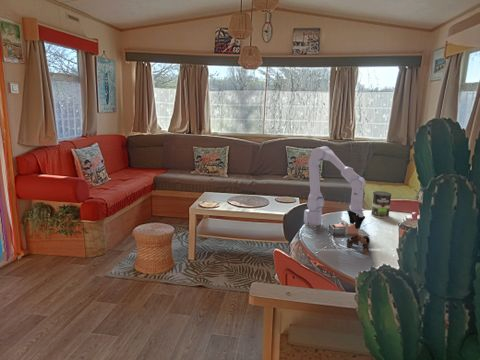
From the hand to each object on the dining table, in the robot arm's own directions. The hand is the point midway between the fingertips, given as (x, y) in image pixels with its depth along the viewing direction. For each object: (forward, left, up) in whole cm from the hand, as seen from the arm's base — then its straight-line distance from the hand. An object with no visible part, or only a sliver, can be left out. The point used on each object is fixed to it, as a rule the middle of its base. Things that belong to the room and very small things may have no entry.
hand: (354, 226), depth 184 cm
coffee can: (+28, +31, -5) cm, 42 cm away
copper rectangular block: (-5, 0, -4) cm, 6 cm away
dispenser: (-3, 0, -4) cm, 5 cm away
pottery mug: (-5, -20, -5) cm, 21 cm away
